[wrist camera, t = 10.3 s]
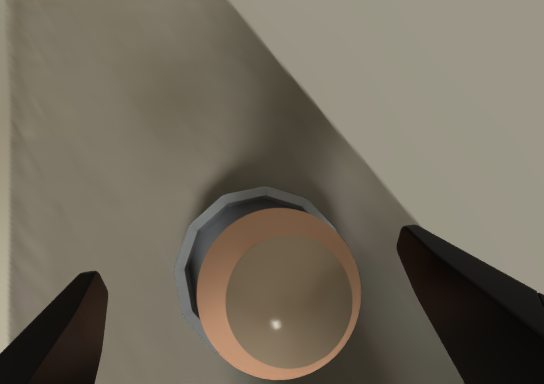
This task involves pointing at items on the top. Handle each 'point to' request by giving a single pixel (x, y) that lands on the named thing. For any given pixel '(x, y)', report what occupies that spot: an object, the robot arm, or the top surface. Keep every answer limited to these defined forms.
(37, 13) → the top surface
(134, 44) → the top surface
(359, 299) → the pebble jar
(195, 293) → the slate bowl
